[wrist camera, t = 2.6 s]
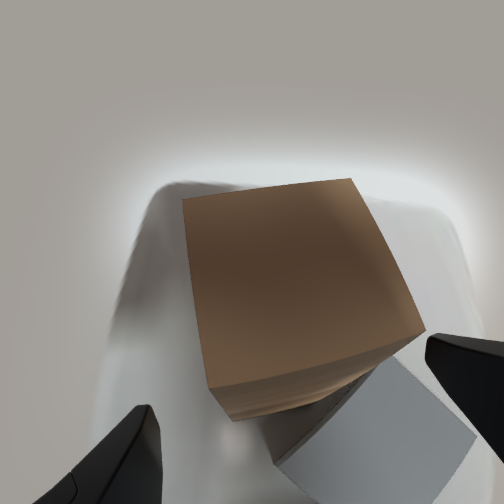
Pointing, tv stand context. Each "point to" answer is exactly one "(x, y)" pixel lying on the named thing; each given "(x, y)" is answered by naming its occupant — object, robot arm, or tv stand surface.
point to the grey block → (380, 444)
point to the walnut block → (292, 294)
